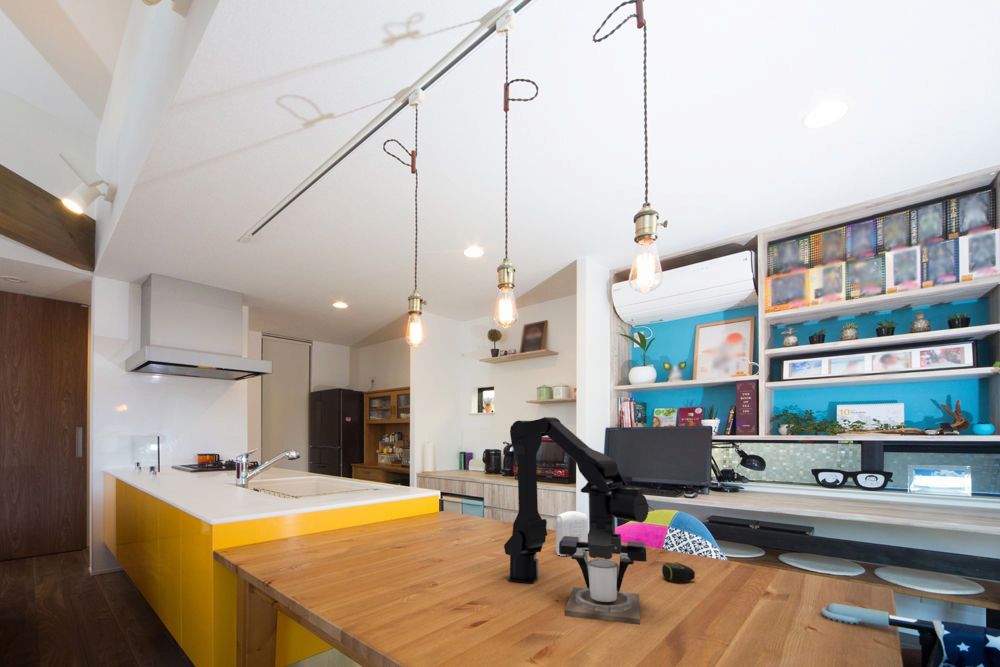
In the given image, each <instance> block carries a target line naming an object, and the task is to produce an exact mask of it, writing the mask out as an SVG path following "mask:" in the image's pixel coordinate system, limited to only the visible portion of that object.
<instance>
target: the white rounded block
mask: <svg viewBox="0 0 1000 667" xmlns="http://www.w3.org/2000/svg"><path fill="white" fill-rule="evenodd" d="M588 533H589V518H588V516H587V514H586V513H584V512H580V511H577V510H576V511H575V510H569V511H565V512H562V513H559V514H558V515H557V516H556V520H555V553H556V555H557V556H559V555H560V557H564V556H566V555H564V554H559V542H560V541H561V539H562V538H563V537H564V536H572V537H579V542H588ZM587 554H589V551H587ZM566 557H567V556H566Z"/></svg>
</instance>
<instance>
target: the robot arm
mask: <svg viewBox="0 0 1000 667" xmlns="http://www.w3.org/2000/svg"><path fill="white" fill-rule="evenodd" d="M509 428H510V429H509V434H510V440H511V441H510V442H511V446H512V447H513V449H514V451H515V453H516V455H517V488H518V489H517V492H518V513H517V515H516V517H515V519H514V521H513V524H512V533H511V536H510V538H508V539H507V541H506V542H505V543H504V545H503V548H504V553H505V555H508V556H509V577H508V578H507V581H508V582H515V583H517V582H518V583H523V584H524V583H525V584H526V583H527V584H534V583H535V581H536V580H537V579H538V577H539V559H538V558H537V553H541V552H542V549H543V544H544V543H545V542H546V539H547V536H548V532H547V523H548V522H547V519H546V518H542V517H541V515H540V513H539V508H538V507H539V503H538V502H539V501H538V474H537V472H538V471H537V469H538V467H537V455H538V452H539V450H540V447H541V445H542V440H543V438H544V437H546V436H547V437H548V438H549V439H551V441H552V442H554V443H555V445H556V446H558V447H559V448H560V449H561V450H562V451H564V453H565V454H566V455H568V456H569V458H571V459H572V460H573V461H574V462H575V464H576V466H577V468H578V471H579V473H580V474H581V475H582V477H583V478H584V479H585V481H587V482H586V484H585V485H584V486H583V487H582V488H581V489H580V492H581V493H582V494H583V493H584V494H588V542H579V537H572V536H564V537H563V538H562V539H561V541H560V542H559V554H564V555H567V556H570V557H571V559H572V560H576V562H577V563H578V565H579V567H580V569H581V572H582V575H583V579H584V582H585V585H586V588H588V589H589V588H590V585H589V575H588V565H587V562H588V561H589V559H588V556H589V557H590V558H591V559H596V558H597V559H603V560H611V559H612V558H613V554H614V555H619V563H618V565H619V569H618V582H617V592H619V591H621V587H622V583H623V579H624V576H625V573H626V570H627V569H628V567H629V566H630V565H634V563H635V562H643V563H644V562H647V545H646V544H645V543H644V542H643V541H632V540H627V545H625V544H622V535H621V534H620V533H616V519H620V520H624V521H629V522H636V523H644V522H646V520H647V518H648V515H649V503H648V500H647V498H646V496H645V495H644V494H643V488H639V487H637V488H632V487H631V488H630V487H629V485H628V484H627V482H626V480H625V479H624V477H623V475H622V474H621V472H620V471H619V468H618V466H619V465H618V464H617V462H616V461H615V459H613V458H611V457H610V456H608V455H606V454H605V453H603V452H600V451H597V450H595V449H593V448H591V447H589V446H588V445H587V444H586V443H585V442H583V440H582V439H580V438H579V437H578V436H576V434H575V433H573V432H572V431H571V430H570V429H568V428H567V427H566V426H565V425H564V424H563V423H561V420H559V418H557V417H554V416H552V417H551V416H549V417H545V416H544V417H541V418H538V419H534V420H516V421H515V422H513V423H512V424H511V425H510V427H509ZM587 551H588V553H587Z"/></svg>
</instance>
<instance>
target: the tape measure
mask: <svg viewBox="0 0 1000 667" xmlns="http://www.w3.org/2000/svg"><path fill="white" fill-rule="evenodd" d="M661 572H662V576H663V577H664V578H665V579H667V580H669V581H672V582H673V583H676V582H677V583H685V582H689V581H693V580H694V579H695V578H696V577H695V576H696V572H695V570H694V569H693V568H690V567H689V566H688V565H685V564H681V563H679V562H677V561H675V562H668V561H667V562H665V563H663V564H662V568H661Z"/></svg>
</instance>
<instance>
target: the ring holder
mask: <svg viewBox="0 0 1000 667" xmlns="http://www.w3.org/2000/svg"><path fill="white" fill-rule="evenodd" d="M640 611H641V610H640V593H634V592H626V591H622V590H620V591H619V592H617V599H616V600H615V601H612V602H601V601H597V600H594V599H592V598H591V595H590V587H589V589H588V588H587V587H586V588H585V587H576V586H575V587H572V591H571V593H570V595H569V598H568V601H567V604H566V607H565V608H564V616H566V617H567V616H568V617H576V618H583V619H592V620H601V621H607V622H608V621H610V622H618V623H626V624H627V623H628V624H634V625H635V624H636V625H640V624H641V622H640V621H641V619H640V618H641V617H640V614H641V613H640Z"/></svg>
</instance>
